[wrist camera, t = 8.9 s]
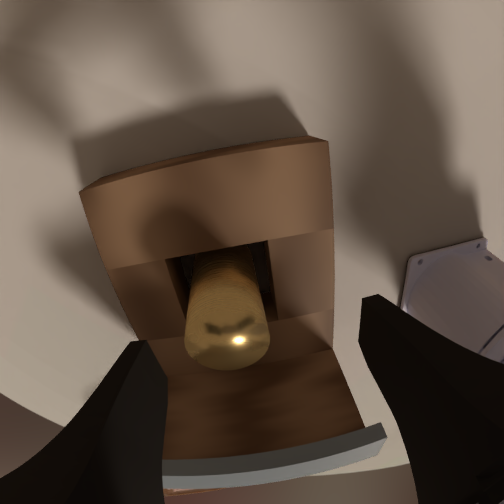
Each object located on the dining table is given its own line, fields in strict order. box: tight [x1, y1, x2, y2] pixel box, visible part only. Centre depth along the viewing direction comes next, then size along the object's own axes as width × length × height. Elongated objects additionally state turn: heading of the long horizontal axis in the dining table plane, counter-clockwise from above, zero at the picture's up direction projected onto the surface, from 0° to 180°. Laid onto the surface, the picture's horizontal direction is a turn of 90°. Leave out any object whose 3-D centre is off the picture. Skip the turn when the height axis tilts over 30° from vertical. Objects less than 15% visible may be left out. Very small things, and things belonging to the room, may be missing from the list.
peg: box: [184, 244, 270, 370], centre depth 15 cm, size 4×4×7 cm
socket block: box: [79, 136, 387, 489], centre depth 13 cm, size 13×15×11 cm
